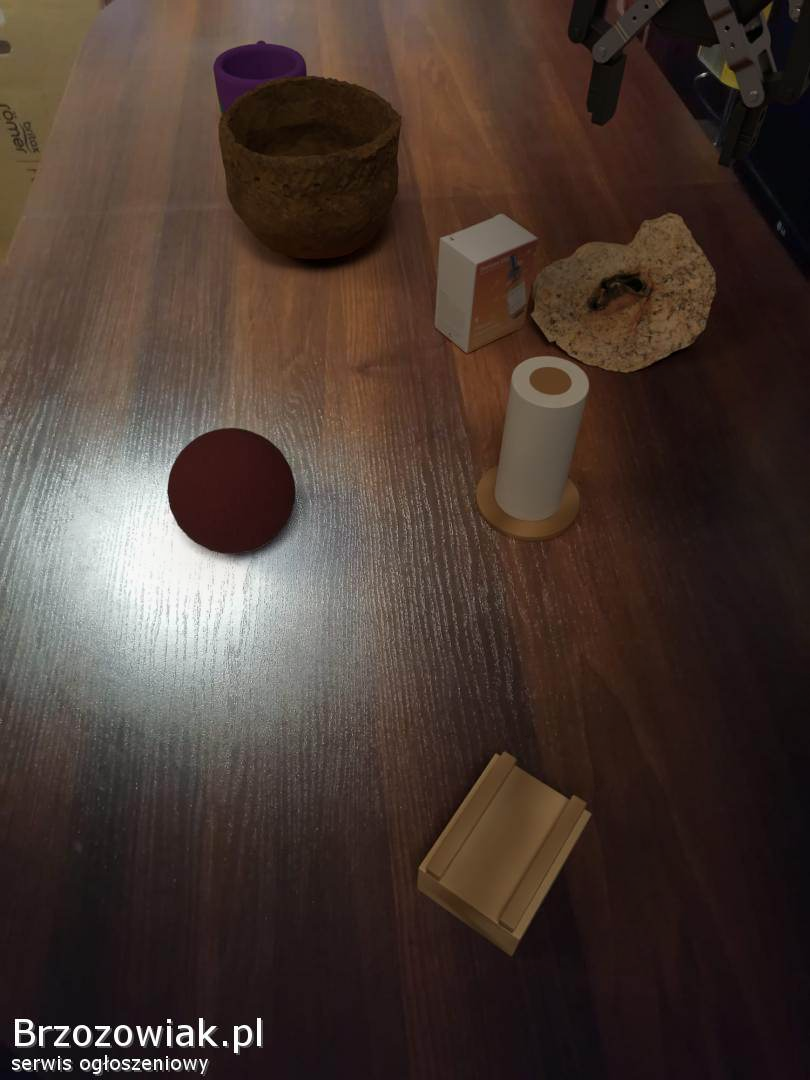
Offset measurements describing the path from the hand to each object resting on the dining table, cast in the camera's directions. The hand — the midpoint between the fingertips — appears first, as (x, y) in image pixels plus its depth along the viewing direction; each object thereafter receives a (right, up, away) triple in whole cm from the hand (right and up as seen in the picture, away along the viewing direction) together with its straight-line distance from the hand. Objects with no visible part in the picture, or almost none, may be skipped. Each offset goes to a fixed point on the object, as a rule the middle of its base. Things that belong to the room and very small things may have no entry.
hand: (664, 140), depth 54 cm
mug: (-35, +30, +61) cm, 76 cm away
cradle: (-10, -46, +2) cm, 47 cm away
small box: (-8, -3, +36) cm, 37 cm away
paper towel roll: (-5, -17, +16) cm, 24 cm away
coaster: (-6, -22, +21) cm, 31 cm away
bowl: (-26, +9, +45) cm, 53 cm away
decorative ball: (-30, -24, +19) cm, 43 cm away
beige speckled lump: (+6, -3, +36) cm, 37 cm away
